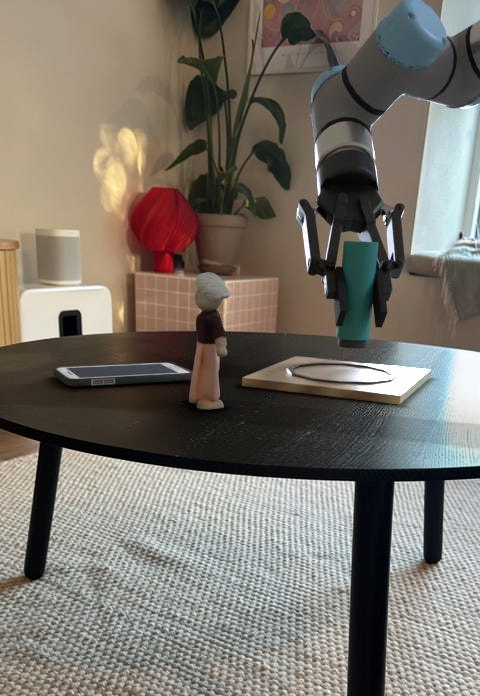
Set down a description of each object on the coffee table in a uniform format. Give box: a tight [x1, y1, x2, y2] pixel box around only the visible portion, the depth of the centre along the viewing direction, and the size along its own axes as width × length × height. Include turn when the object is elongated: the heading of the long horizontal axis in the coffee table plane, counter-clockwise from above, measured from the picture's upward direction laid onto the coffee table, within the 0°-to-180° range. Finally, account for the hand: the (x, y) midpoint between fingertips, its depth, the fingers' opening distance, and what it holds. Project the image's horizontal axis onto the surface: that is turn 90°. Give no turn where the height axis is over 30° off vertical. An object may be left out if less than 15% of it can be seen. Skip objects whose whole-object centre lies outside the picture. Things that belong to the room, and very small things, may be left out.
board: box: [241, 355, 432, 406], centre depth 89 cm, size 18×18×1 cm
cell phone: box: [53, 361, 193, 388], centre depth 86 cm, size 8×15×1 cm, turn 116°
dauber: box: [335, 240, 378, 350], centre depth 89 cm, size 4×4×12 cm
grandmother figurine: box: [188, 271, 231, 411], centre depth 73 cm, size 8×4×13 cm, turn 30°
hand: (361, 319), depth 87 cm, fingers closed on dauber, 4 cm apart
